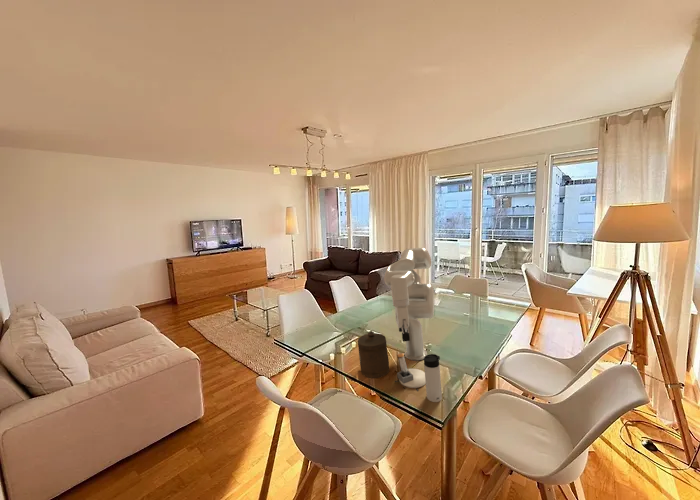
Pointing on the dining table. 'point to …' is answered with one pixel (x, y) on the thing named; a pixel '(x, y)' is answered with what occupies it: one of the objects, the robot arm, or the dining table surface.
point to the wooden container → (373, 355)
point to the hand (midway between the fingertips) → (404, 335)
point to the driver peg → (402, 364)
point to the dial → (412, 378)
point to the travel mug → (433, 377)
